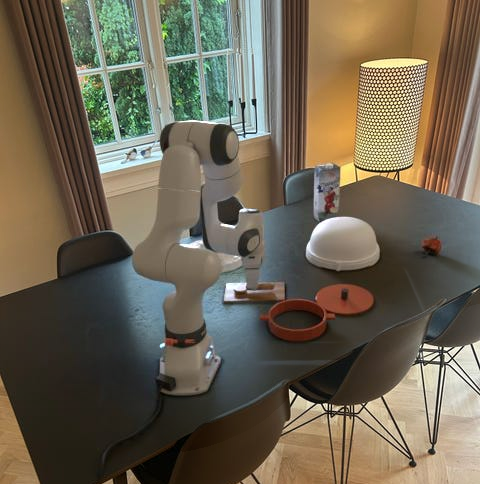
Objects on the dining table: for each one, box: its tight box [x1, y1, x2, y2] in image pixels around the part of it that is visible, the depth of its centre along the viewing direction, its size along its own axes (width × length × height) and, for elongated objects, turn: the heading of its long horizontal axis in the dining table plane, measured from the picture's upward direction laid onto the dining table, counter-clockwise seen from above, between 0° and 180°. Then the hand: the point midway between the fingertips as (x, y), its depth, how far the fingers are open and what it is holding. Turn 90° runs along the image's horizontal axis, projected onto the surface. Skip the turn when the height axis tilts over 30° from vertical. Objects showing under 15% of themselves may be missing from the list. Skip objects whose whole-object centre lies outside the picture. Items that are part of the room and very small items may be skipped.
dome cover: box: [305, 216, 381, 272], centre depth 203 cm, size 32×30×14 cm
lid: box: [315, 283, 375, 316], centre depth 175 cm, size 20×20×4 cm
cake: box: [188, 238, 242, 274], centre depth 208 cm, size 28×28×10 cm
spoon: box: [234, 283, 275, 293], centre depth 182 cm, size 15×5×3 cm, turn 86°
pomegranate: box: [421, 236, 442, 257], centre depth 200 cm, size 7×7×10 cm
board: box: [223, 281, 286, 305], centre depth 184 cm, size 13×22×1 cm, turn 86°
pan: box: [259, 298, 336, 342], centre depth 164 cm, size 19×24×4 cm
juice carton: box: [313, 162, 342, 224], centre depth 230 cm, size 9×10×27 cm
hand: (254, 286), depth 182 cm, fingers closed on spoon, 2 cm apart
